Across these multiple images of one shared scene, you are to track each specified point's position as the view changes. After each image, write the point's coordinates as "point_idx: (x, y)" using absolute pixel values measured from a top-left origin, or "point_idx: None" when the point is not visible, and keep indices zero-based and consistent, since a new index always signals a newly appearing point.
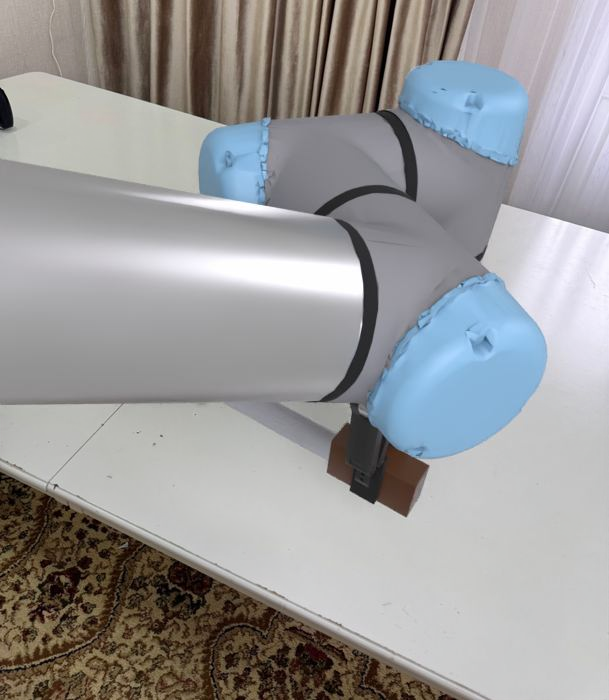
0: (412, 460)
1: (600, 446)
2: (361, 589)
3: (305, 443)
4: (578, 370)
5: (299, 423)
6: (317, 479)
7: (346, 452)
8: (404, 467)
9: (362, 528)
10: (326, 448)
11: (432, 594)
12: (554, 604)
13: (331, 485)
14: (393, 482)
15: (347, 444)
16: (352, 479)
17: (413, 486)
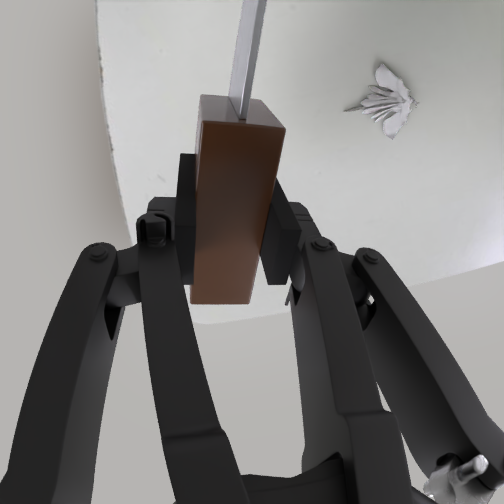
0: (244, 282)
1: (414, 283)
2: (160, 149)
3: (239, 30)
4: (484, 252)
5: (251, 7)
6: (285, 35)
7: (66, 284)
8: (219, 278)
9: None
10: (234, 83)
11: None
12: None
13: (284, 55)
14: None
15: (53, 314)
16: (179, 169)
17: (190, 298)
